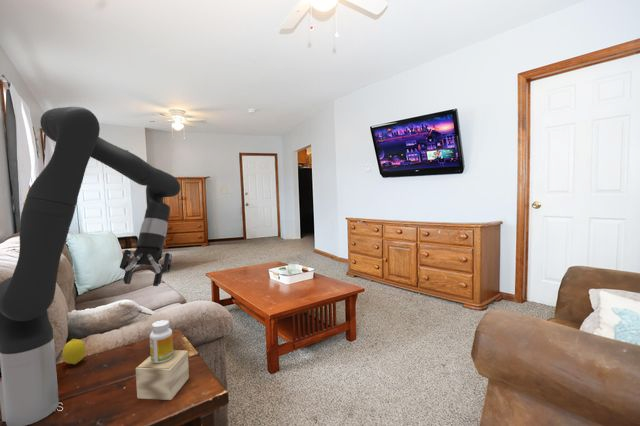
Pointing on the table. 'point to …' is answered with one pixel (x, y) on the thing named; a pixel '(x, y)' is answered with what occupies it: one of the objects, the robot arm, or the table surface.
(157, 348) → the supplement bottle
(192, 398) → the table surface
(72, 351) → the lemon
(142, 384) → the maple block
